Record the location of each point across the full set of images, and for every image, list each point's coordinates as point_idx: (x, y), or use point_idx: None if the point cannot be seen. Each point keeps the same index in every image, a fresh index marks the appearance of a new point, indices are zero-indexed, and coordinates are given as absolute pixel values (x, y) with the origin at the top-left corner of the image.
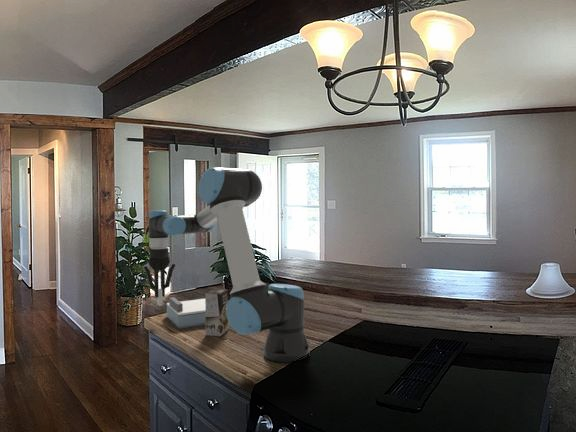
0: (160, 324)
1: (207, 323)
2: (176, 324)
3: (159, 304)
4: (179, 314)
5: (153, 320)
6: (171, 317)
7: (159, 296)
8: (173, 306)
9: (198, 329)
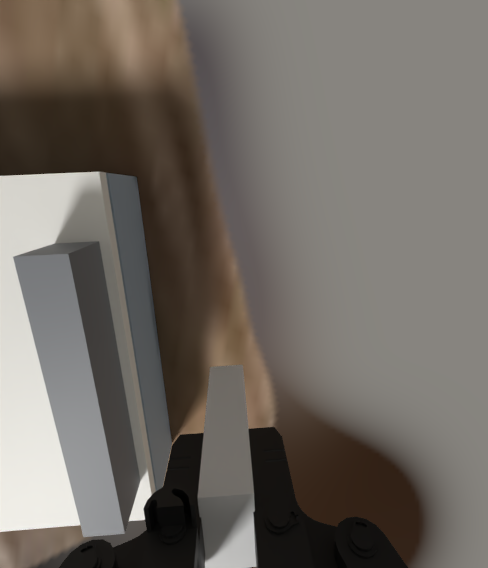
0: (227, 321)
1: None
2: (140, 233)
3: (236, 372)
4: (92, 173)
5: (249, 410)
6: (153, 361)
7: (238, 422)
8: (117, 381)
9: (6, 97)
